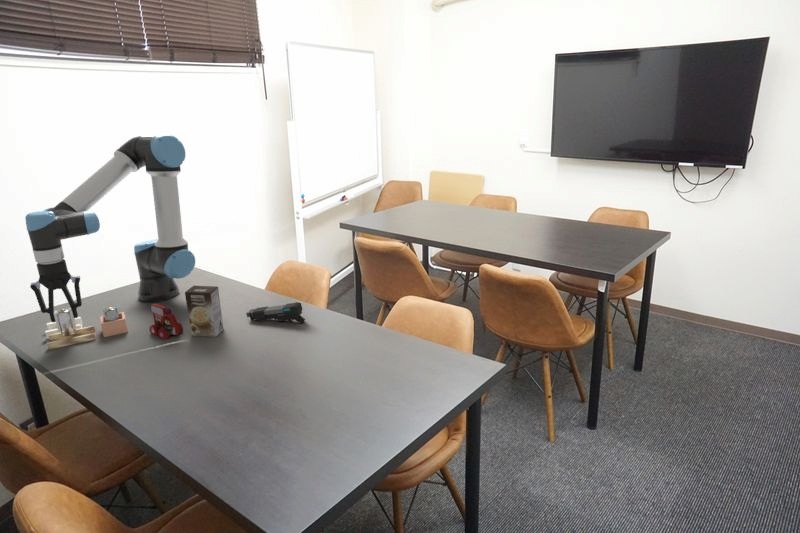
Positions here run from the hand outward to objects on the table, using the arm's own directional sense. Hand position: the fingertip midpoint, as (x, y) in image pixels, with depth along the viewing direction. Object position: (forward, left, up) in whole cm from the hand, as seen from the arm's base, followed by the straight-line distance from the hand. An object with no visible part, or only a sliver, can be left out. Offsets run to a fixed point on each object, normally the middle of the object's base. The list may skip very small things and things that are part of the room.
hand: (67, 328), depth 160 cm
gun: (-63, +22, -5) cm, 67 cm away
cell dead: (-13, 0, -4) cm, 14 cm away
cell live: (0, 0, -2) cm, 2 cm away
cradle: (+2, -10, -5) cm, 11 cm away
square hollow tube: (-13, 0, -5) cm, 14 cm away
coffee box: (-40, +18, -5) cm, 44 cm away
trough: (-1, 0, -5) cm, 5 cm away
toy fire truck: (-28, +12, -5) cm, 31 cm away
